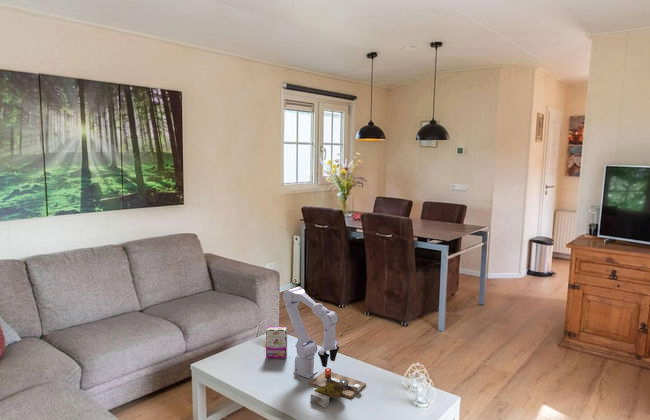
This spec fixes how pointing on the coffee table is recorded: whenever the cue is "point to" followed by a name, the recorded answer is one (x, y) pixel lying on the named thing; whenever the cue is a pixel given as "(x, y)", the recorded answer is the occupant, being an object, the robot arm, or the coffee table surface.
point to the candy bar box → (276, 342)
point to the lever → (341, 381)
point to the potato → (331, 390)
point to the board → (322, 381)
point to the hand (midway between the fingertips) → (328, 363)
